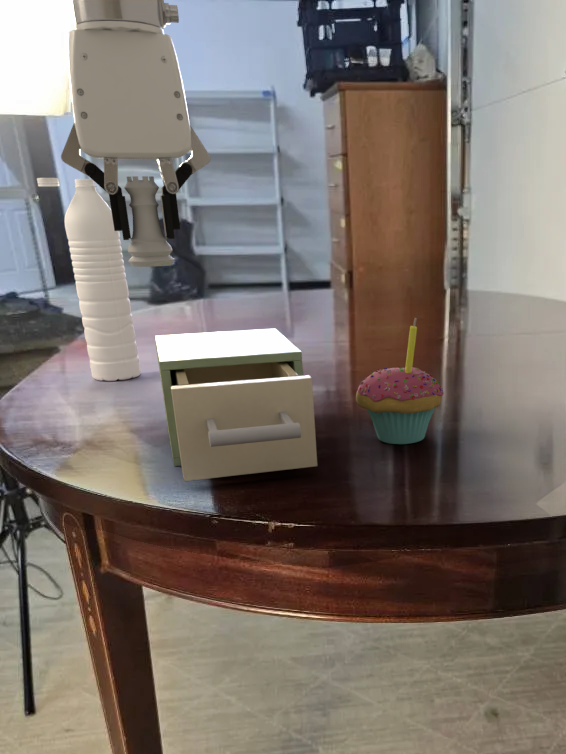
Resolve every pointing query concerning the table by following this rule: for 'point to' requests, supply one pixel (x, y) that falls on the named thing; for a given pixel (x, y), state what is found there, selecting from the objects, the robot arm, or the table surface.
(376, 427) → the cupcake
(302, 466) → the drawer
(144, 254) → the rook chess piece
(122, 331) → the water bottle
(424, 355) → the table surface
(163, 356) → the cabinet
